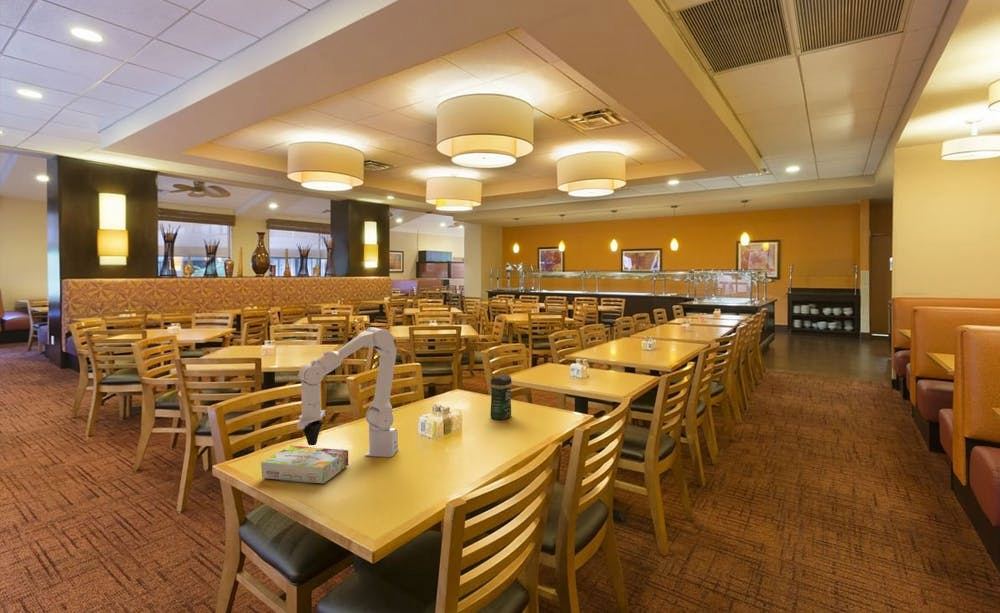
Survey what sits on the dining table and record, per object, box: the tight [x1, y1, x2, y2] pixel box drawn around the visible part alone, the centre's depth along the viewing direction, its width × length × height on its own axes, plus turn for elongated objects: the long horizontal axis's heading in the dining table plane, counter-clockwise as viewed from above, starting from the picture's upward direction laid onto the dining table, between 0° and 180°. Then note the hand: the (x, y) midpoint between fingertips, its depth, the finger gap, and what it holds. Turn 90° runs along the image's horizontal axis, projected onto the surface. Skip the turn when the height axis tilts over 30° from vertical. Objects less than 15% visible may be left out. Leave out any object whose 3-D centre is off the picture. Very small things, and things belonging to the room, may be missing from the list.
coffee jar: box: [489, 374, 513, 420], centre depth 213 cm, size 10×8×19 cm
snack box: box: [260, 445, 349, 484], centre depth 153 cm, size 21×6×15 cm
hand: (312, 444), depth 155 cm, fingers closed
